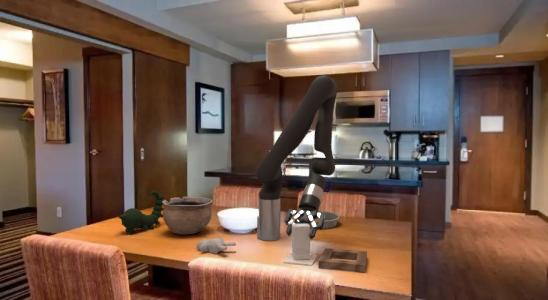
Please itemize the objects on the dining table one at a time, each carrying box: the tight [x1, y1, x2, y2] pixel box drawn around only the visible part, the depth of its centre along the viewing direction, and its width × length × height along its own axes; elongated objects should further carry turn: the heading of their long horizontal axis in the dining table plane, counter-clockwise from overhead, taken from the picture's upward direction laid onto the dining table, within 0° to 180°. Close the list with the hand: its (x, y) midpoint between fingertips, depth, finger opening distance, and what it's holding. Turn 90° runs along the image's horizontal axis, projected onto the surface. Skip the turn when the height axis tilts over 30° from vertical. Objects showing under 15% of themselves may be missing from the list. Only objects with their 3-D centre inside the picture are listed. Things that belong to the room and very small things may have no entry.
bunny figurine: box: [195, 237, 237, 254], centre depth 144 cm, size 10×5×15 cm
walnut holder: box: [318, 247, 368, 274], centre depth 131 cm, size 15×15×2 cm
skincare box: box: [291, 224, 311, 260], centre depth 135 cm, size 6×4×12 cm
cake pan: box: [292, 210, 341, 230], centre depth 190 cm, size 25×25×4 cm
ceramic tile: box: [283, 252, 318, 267], centre depth 135 cm, size 10×10×1 cm
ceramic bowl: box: [162, 196, 213, 236], centre depth 172 cm, size 22×22×15 cm
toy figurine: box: [117, 190, 165, 235], centre depth 176 cm, size 9×19×25 cm
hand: (299, 236), depth 133 cm, fingers open, 8 cm apart
